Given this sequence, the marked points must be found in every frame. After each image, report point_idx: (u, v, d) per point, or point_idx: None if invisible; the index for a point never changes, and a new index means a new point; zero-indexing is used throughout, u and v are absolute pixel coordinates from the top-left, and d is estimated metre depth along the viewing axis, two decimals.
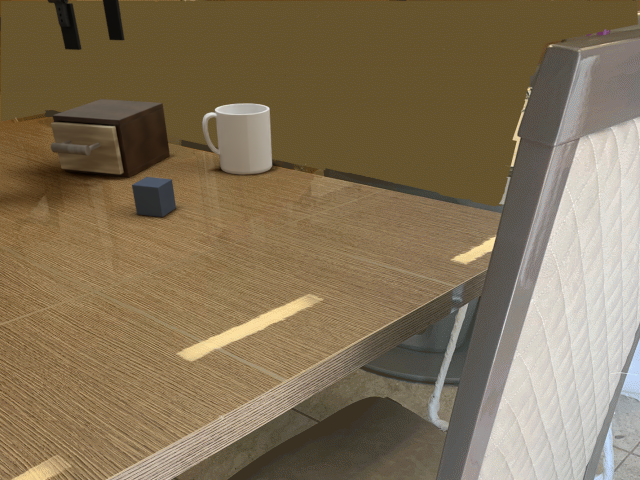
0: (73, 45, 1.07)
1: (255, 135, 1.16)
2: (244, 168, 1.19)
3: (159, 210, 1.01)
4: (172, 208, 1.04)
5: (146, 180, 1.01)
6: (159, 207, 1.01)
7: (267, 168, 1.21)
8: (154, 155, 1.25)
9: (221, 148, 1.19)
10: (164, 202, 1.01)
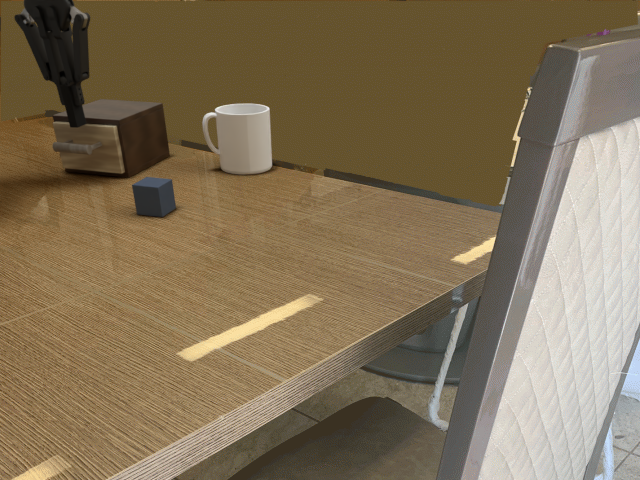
0: None
1: (255, 135, 1.16)
2: (244, 168, 1.19)
3: (159, 210, 1.01)
4: (172, 208, 1.04)
5: (146, 180, 1.01)
6: (159, 207, 1.01)
7: (267, 168, 1.21)
8: (154, 155, 1.25)
9: (221, 148, 1.19)
10: (164, 202, 1.01)
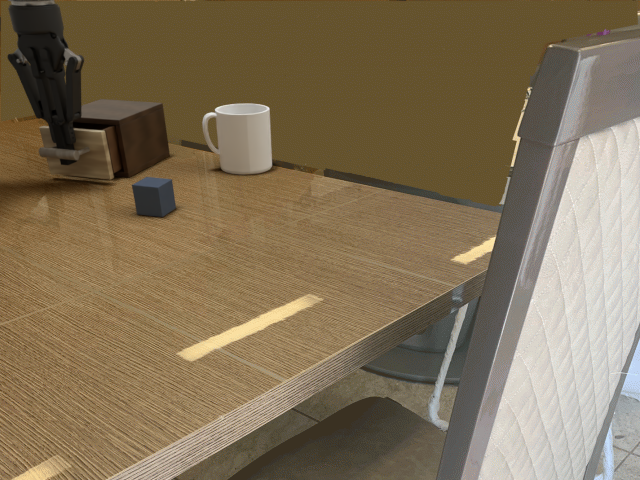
0: None
1: (255, 135, 1.16)
2: (244, 168, 1.19)
3: (159, 210, 1.01)
4: (172, 208, 1.04)
5: (146, 180, 1.01)
6: (159, 207, 1.01)
7: (267, 168, 1.21)
8: (154, 155, 1.25)
9: (221, 148, 1.19)
10: (164, 202, 1.01)
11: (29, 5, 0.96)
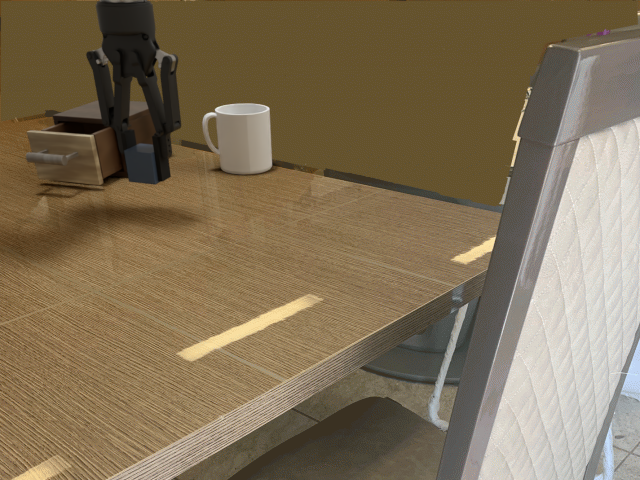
0: (167, 174, 1.00)
1: (255, 135, 1.16)
2: (244, 168, 1.19)
3: (152, 178, 0.98)
4: None
5: (139, 147, 0.98)
6: (152, 175, 0.98)
7: (267, 168, 1.21)
8: None
9: (221, 148, 1.19)
10: None
11: None
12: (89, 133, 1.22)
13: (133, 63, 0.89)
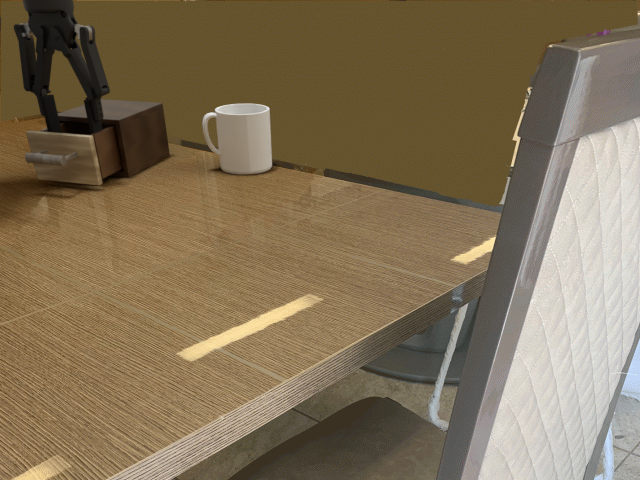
0: None
1: (255, 135, 1.16)
2: (244, 168, 1.19)
3: None
4: None
5: None
6: None
7: (267, 168, 1.21)
8: (154, 155, 1.25)
9: (221, 148, 1.19)
10: None
11: None
12: (88, 133, 1.22)
13: None
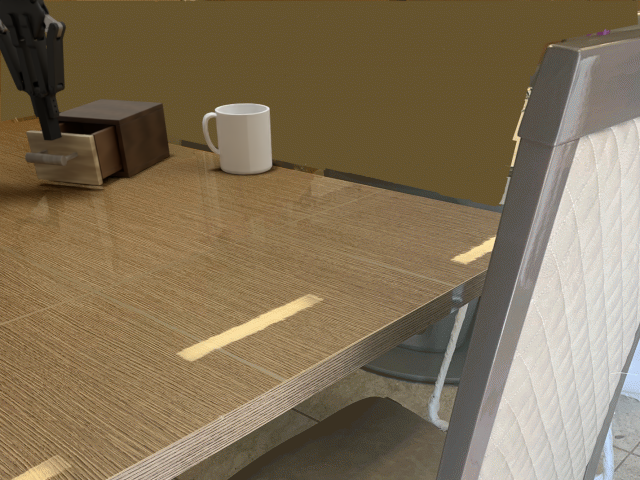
0: None
1: (255, 135, 1.16)
2: (244, 168, 1.19)
3: None
4: None
5: None
6: None
7: (267, 168, 1.21)
8: (154, 155, 1.25)
9: (221, 148, 1.19)
10: None
11: None
12: (88, 133, 1.22)
13: None
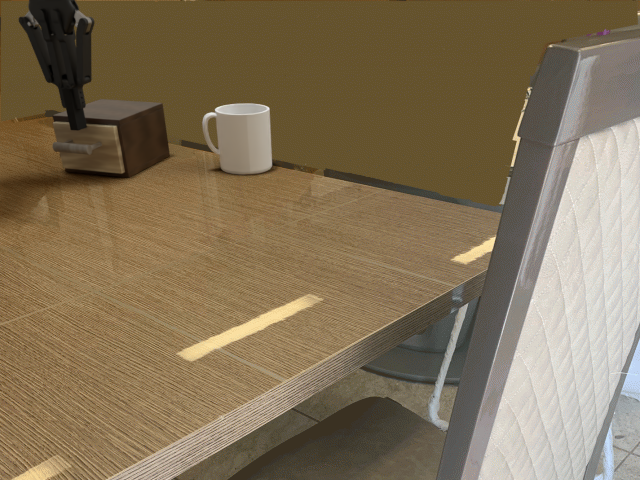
0: None
1: (255, 135, 1.16)
2: (244, 168, 1.19)
3: None
4: None
5: None
6: None
7: (267, 168, 1.21)
8: (154, 155, 1.25)
9: (221, 148, 1.19)
10: None
11: None
12: None
13: None
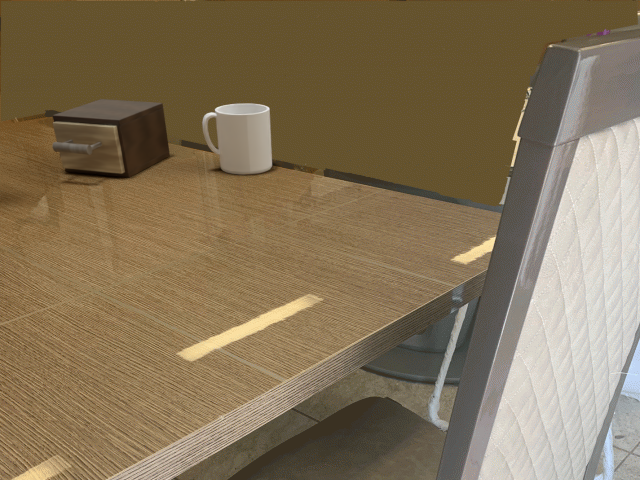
0: None
1: (255, 135, 1.16)
2: (244, 168, 1.19)
3: None
4: None
5: None
6: None
7: (267, 168, 1.21)
8: (154, 155, 1.25)
9: (221, 148, 1.19)
10: None
11: None
12: None
13: None
